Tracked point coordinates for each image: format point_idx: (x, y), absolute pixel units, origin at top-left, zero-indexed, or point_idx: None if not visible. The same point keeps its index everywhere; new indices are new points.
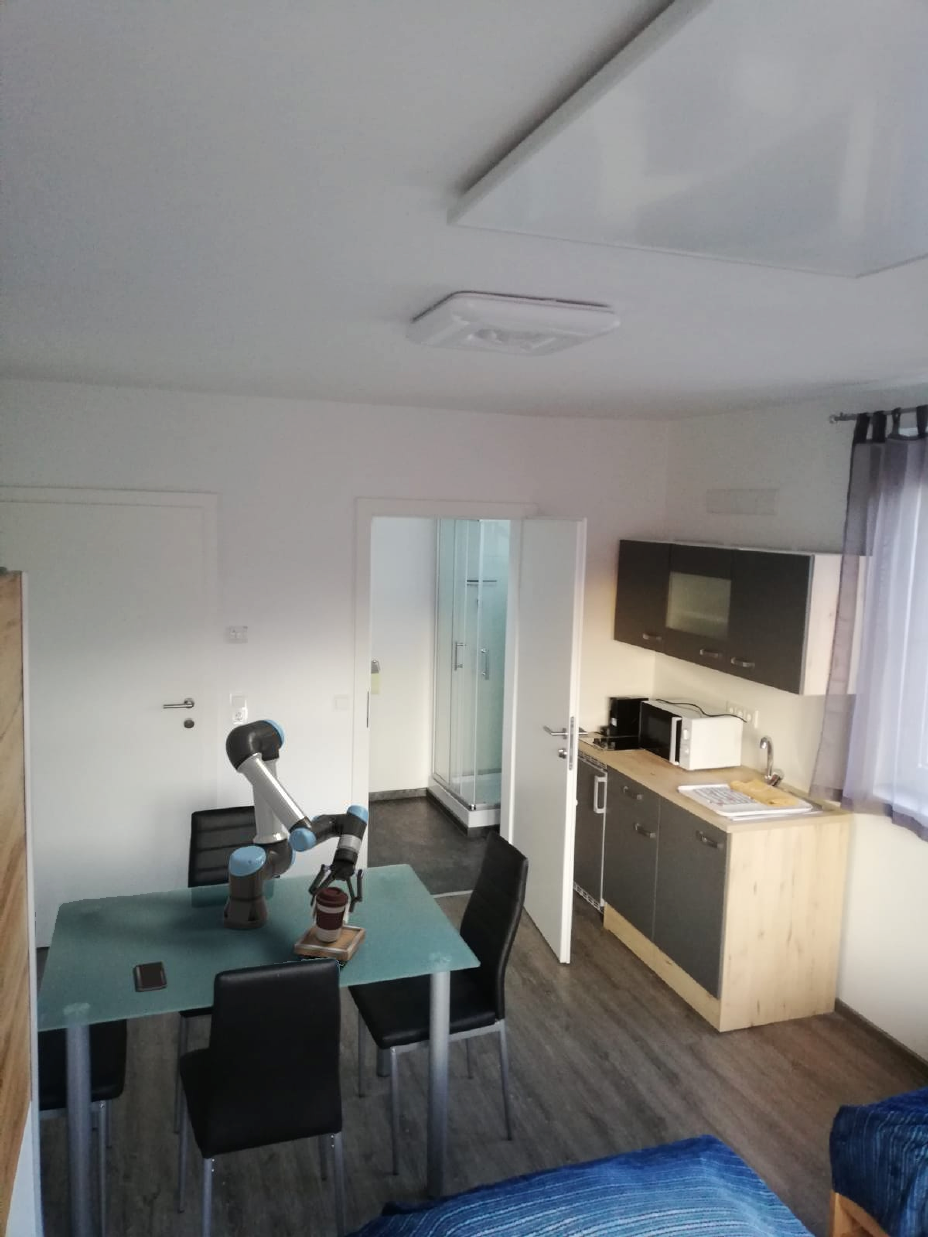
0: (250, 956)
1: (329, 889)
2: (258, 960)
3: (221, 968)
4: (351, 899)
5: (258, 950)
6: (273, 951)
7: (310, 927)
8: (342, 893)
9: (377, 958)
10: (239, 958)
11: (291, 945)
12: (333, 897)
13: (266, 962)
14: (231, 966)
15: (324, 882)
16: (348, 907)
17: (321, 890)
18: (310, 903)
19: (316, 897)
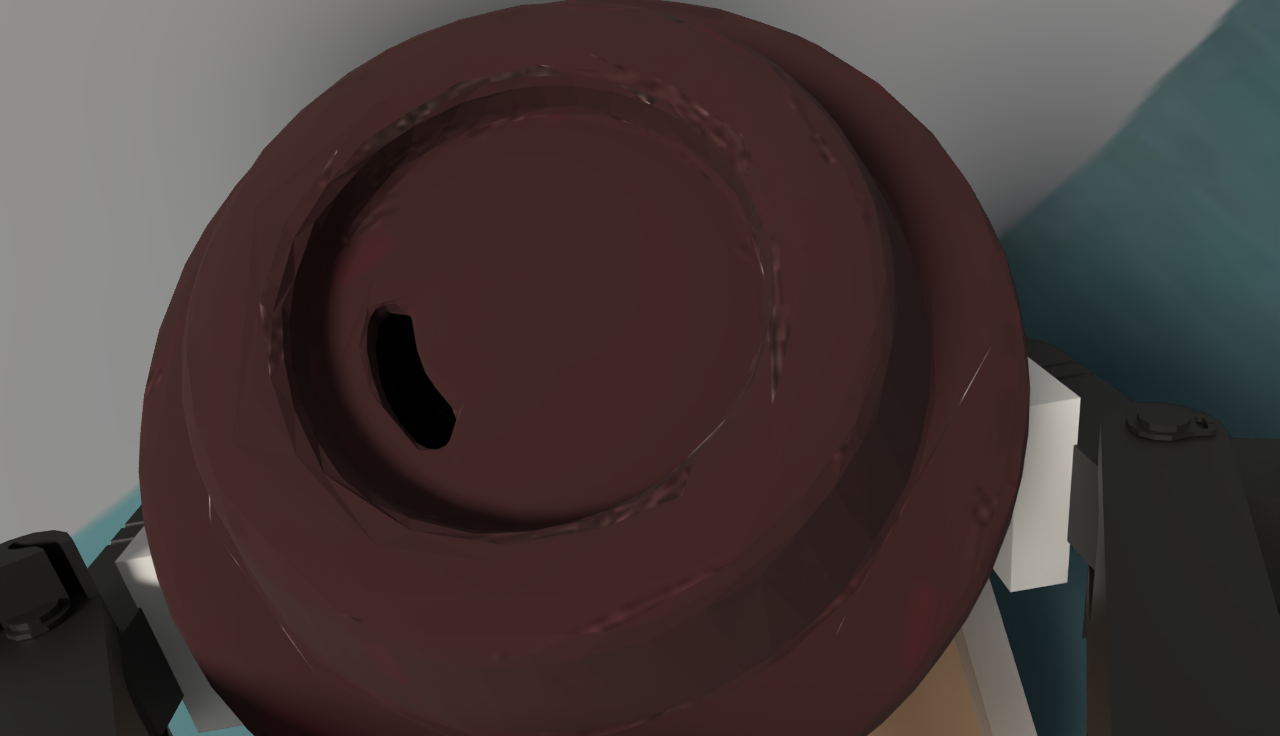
0: (1229, 236)
1: (733, 421)
2: (1121, 213)
3: (1251, 13)
4: (80, 570)
5: (1262, 349)
6: (1137, 393)
7: (999, 657)
8: (193, 327)
9: (183, 728)
10: (1273, 174)
11: (1085, 573)
12: (374, 63)
13: (1042, 216)
14: (1217, 62)
15: (1223, 732)
16: None
17: (1008, 428)
18: (1054, 346)
19: (865, 78)
